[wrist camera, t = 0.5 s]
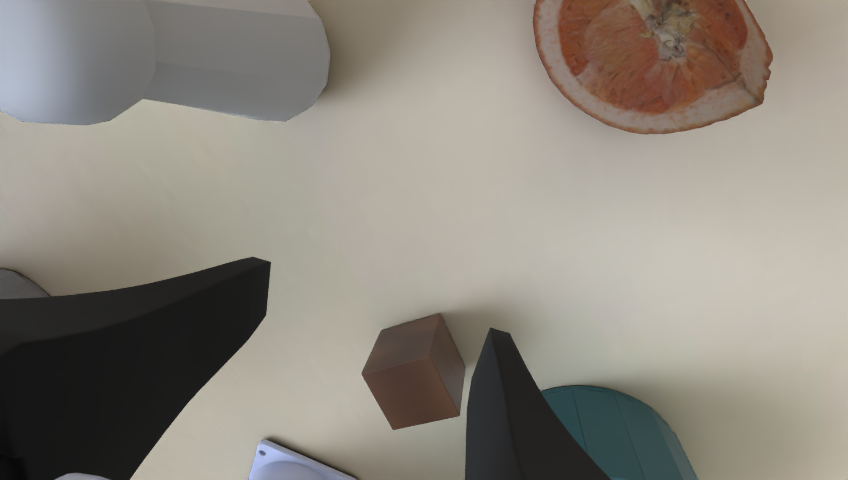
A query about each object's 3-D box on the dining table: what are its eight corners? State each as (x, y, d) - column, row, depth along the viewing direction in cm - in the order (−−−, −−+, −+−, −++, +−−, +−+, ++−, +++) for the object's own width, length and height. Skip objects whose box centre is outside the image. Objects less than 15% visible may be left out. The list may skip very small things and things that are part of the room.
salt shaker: (336, 130, 21) (119, 199, 9) (233, 101, 21) (-111, 131, 9) (355, 2, 18) (93, -139, 6) (238, -28, 19) (-212, -211, 7)
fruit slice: (763, 38, 16) (866, 23, 12) (625, 161, 19) (665, 187, 14) (622, -119, 15) (674, -204, 11) (496, 33, 18) (495, 16, 13)
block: (407, 380, 26) (392, 430, 22) (380, 330, 25) (360, 373, 21) (465, 366, 25) (460, 416, 21) (440, 312, 24) (429, 355, 20)
